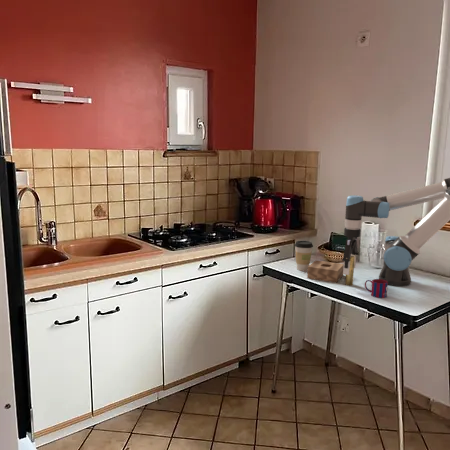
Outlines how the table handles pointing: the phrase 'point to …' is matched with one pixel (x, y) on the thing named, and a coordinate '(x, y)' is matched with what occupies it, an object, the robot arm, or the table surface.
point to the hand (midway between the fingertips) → (349, 270)
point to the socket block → (325, 271)
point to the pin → (350, 273)
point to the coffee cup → (303, 254)
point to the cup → (378, 288)
